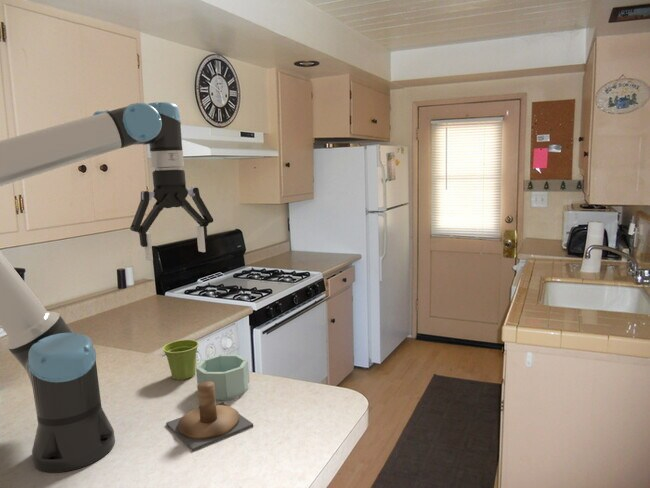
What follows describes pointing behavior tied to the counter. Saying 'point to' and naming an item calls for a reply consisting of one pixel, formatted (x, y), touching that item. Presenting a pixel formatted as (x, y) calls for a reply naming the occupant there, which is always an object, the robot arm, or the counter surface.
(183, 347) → the plant pot
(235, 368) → the bowl
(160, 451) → the counter surface
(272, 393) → the counter surface
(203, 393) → the lid
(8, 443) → the counter surface
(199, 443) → the mat
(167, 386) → the counter surface
